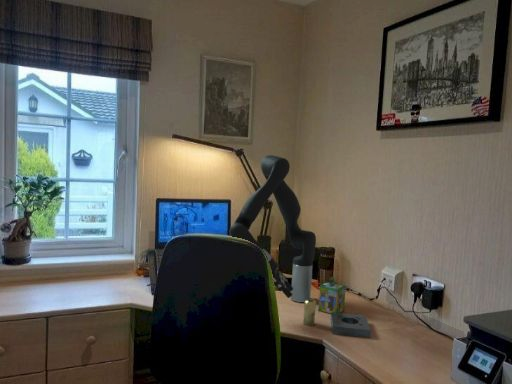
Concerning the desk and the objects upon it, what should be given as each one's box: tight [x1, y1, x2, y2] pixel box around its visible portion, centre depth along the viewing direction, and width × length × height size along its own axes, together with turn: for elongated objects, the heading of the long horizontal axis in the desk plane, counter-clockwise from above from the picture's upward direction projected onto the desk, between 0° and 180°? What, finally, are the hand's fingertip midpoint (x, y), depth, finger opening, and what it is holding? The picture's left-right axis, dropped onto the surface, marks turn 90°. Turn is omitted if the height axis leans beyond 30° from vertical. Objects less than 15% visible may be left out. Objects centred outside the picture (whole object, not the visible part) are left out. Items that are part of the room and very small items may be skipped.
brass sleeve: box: [302, 298, 317, 327], centre depth 166 cm, size 4×4×10 cm
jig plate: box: [330, 312, 372, 339], centre depth 164 cm, size 16×14×3 cm
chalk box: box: [318, 276, 347, 314], centre depth 183 cm, size 9×9×15 cm
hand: (291, 293), depth 166 cm, fingers open, 8 cm apart
